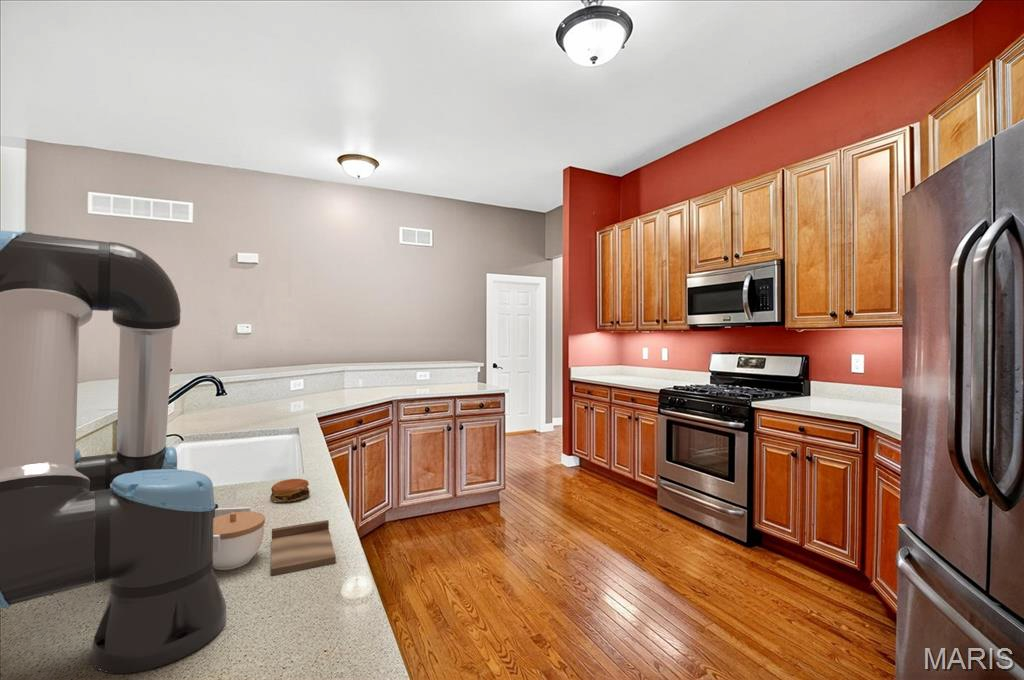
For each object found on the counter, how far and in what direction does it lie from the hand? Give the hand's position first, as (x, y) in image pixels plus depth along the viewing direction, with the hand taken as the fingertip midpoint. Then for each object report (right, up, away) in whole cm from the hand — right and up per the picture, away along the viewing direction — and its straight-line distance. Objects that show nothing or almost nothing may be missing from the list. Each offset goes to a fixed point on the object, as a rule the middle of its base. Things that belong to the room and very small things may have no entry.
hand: (236, 527), depth 88 cm
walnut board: (+11, -6, +3) cm, 13 cm away
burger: (-6, -7, +35) cm, 36 cm away
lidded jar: (0, -7, -1) cm, 7 cm away
